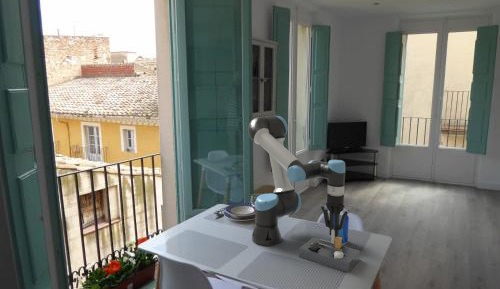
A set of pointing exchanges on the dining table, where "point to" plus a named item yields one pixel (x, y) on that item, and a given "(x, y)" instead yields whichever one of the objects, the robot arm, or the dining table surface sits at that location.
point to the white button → (338, 254)
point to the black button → (314, 246)
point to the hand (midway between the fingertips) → (333, 242)
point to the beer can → (343, 229)
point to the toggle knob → (338, 242)
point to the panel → (330, 255)
